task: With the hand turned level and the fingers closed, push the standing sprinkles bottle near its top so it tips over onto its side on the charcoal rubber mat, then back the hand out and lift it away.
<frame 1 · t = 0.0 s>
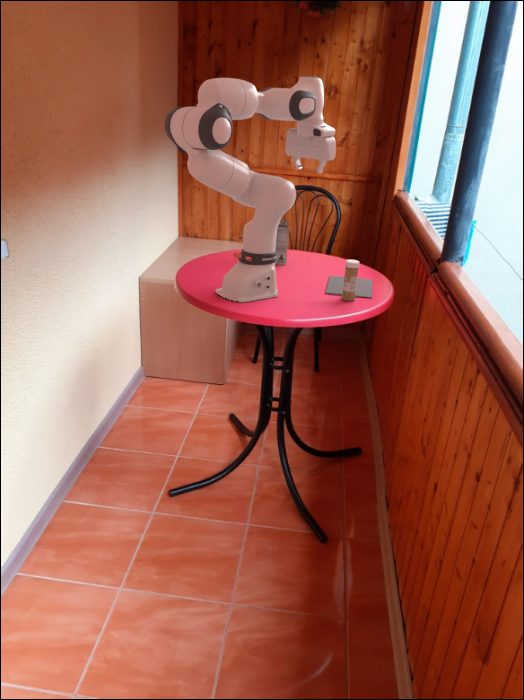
hand: (309, 171, 198), 39 cm above the table, tool pointing down, fingers open, 8 cm apart
mat: (349, 287, 206), on the table
coffee box: (278, 262, 234), on the table
sprinkles bottle: (348, 299, 193), on the table
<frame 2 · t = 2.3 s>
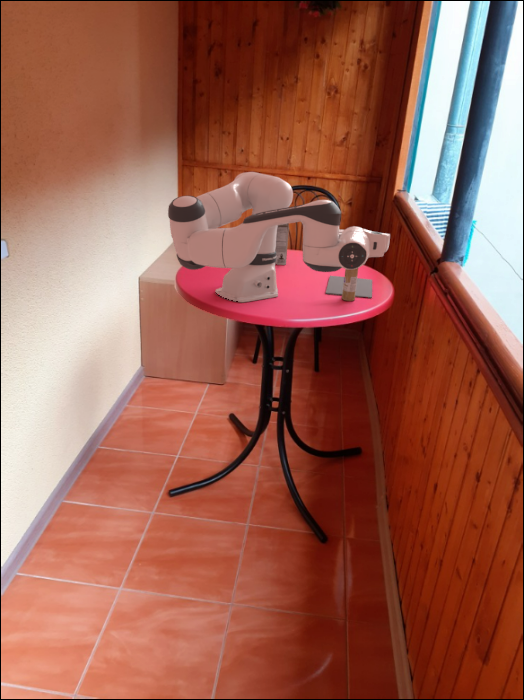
hand: (355, 233, 172), 25 cm above the table, tool horizontal, fingers open, 7 cm apart
nothing on the table moved.
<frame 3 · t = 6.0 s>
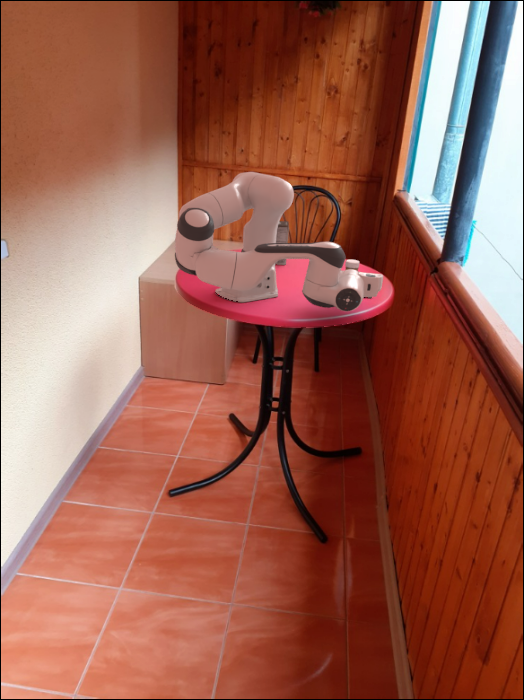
hand: (351, 272, 187), 10 cm above the table, tool horizontal, fingers closed, pressing on sprinkles bottle
sprinkles bottle: (348, 299, 193), on the table, touching gripper
everything else where it was.
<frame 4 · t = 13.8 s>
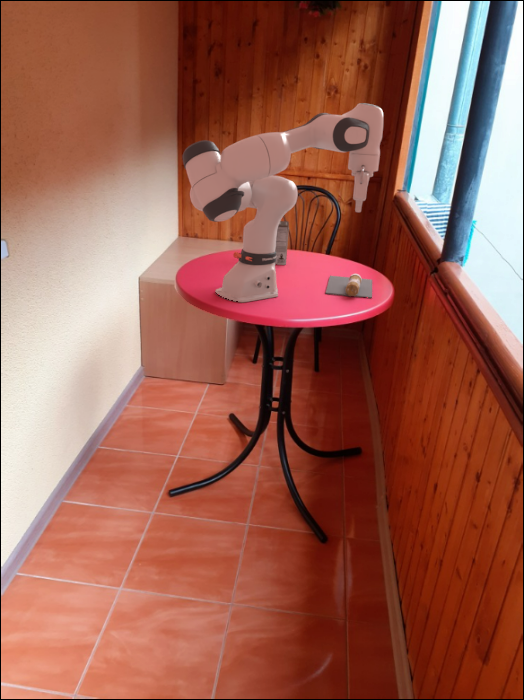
hand: (358, 211, 172), 31 cm above the table, tool pointing down, fingers closed
sprinkles bottle: (352, 290, 194), point 3 cm above the table, touching mat
everything else where it was.
at the end: sprinkles bottle tilted 89°; sprinkles bottle touching mat; sprinkles bottle inside the target area (6.1 cm from its centre), point 2.6 cm above the table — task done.
